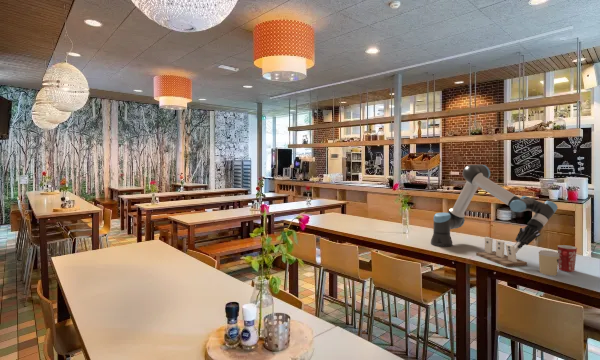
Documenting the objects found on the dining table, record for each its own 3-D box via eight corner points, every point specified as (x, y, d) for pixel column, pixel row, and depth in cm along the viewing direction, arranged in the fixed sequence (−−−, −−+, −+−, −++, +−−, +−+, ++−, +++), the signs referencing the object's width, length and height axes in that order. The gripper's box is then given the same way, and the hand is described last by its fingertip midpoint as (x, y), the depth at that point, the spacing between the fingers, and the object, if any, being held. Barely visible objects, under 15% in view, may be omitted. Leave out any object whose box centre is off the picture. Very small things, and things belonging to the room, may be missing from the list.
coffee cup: (562, 276, 186) (563, 255, 185) (542, 275, 187) (543, 254, 187) (553, 271, 195) (553, 250, 194) (534, 270, 197) (535, 249, 196)
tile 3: (507, 260, 210) (505, 244, 209) (510, 259, 210) (507, 243, 209) (514, 262, 205) (511, 246, 204) (517, 261, 205) (514, 245, 204)
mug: (558, 266, 203) (559, 244, 203) (577, 270, 196) (578, 247, 196) (552, 271, 195) (553, 247, 194) (572, 275, 188) (573, 250, 187)
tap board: (476, 255, 229) (476, 252, 229) (494, 253, 231) (494, 251, 231) (506, 266, 203) (506, 263, 203) (526, 265, 206) (526, 262, 206)
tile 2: (495, 255, 219) (495, 240, 219) (497, 255, 220) (498, 240, 219) (501, 257, 214) (501, 242, 214) (504, 257, 215) (504, 241, 214)
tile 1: (484, 251, 229) (484, 236, 229) (486, 251, 229) (486, 236, 229) (489, 253, 224) (490, 238, 224) (492, 253, 225) (492, 238, 224)
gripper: (550, 228, 204) (526, 258, 201) (531, 224, 216) (508, 252, 214) (543, 220, 202) (519, 250, 200) (524, 216, 215) (501, 244, 213)
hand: (513, 251), depth 207 cm, fingers closed
